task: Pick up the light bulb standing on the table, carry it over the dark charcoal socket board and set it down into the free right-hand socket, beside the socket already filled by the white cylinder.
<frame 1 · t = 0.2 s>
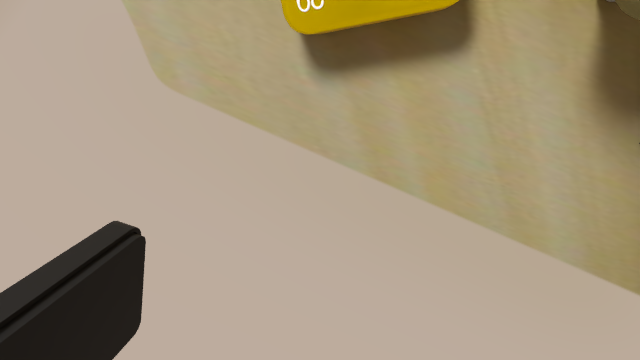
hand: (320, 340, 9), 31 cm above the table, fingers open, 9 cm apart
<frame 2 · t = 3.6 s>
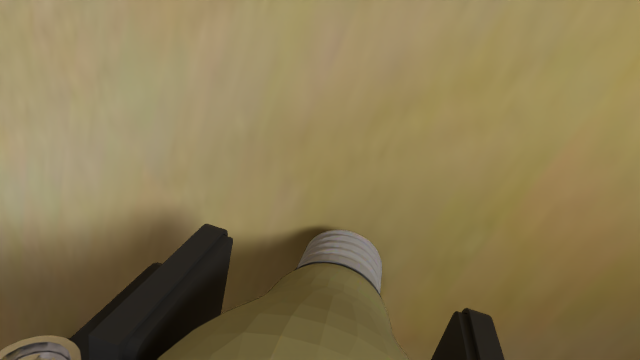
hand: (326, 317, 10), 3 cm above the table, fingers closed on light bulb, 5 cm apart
light bulb: (345, 250, 13), on the table, touching gripper
when the fingers open (5 cm above the table, at t = 9.7 s): light bulb drops 1 cm, resting on socket board.
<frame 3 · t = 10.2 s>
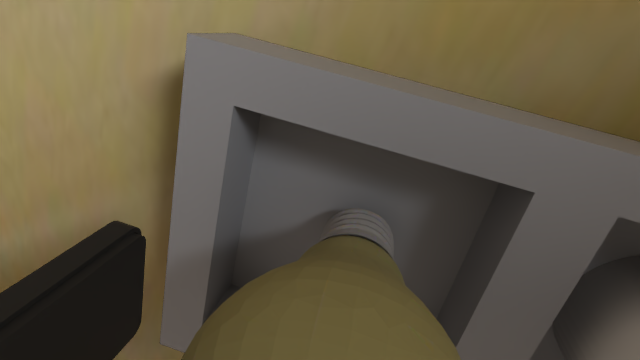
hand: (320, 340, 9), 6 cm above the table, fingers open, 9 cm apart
socket board: (486, 267, 14), on the table
light bulb: (359, 228, 14), resting on socket board
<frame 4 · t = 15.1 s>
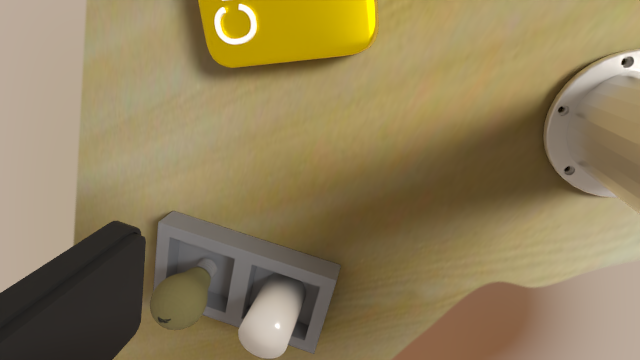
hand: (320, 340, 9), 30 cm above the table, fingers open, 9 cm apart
socket board: (247, 274, 47), on the table
light bulb: (211, 263, 47), resting on socket board
white cylinder: (285, 290, 46), resting on socket board
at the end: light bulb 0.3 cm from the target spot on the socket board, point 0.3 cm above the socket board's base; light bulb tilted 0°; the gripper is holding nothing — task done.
